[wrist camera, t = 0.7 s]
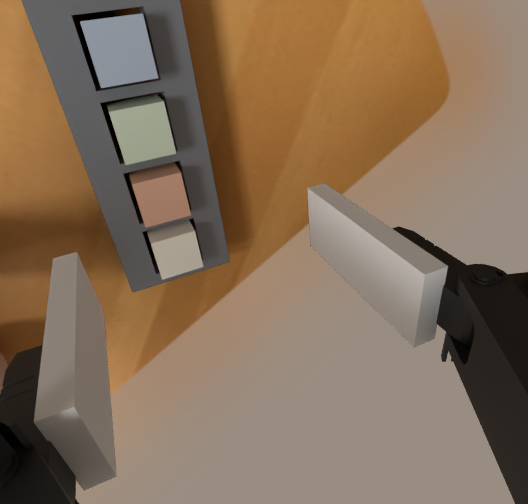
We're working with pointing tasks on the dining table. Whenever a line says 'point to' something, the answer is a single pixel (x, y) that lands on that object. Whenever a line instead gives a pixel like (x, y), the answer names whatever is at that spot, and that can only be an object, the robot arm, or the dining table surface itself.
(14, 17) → the dining table surface
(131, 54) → the key slate
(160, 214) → the key terracotta
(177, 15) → the keypad
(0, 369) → the egg
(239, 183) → the dining table surface
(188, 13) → the dining table surface
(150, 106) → the key sage
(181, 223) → the key ivory
